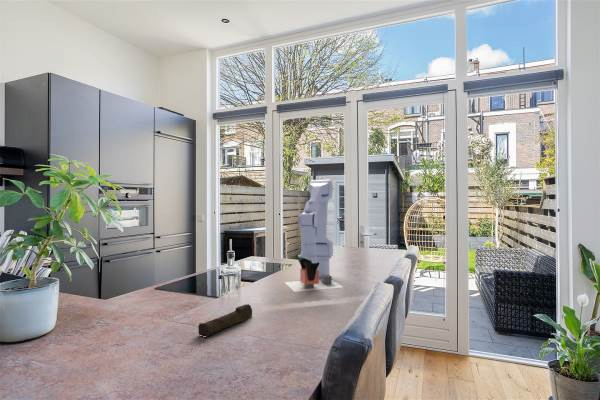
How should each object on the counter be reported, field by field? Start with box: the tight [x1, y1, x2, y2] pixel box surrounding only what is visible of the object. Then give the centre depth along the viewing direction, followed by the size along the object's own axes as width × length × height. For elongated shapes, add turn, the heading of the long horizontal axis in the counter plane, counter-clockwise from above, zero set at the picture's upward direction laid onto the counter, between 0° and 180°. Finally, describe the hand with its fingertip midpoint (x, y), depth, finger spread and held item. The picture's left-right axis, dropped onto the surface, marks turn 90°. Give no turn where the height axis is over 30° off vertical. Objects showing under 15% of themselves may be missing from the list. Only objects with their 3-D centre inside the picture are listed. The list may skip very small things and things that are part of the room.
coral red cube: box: [299, 268, 320, 285], centre depth 134 cm, size 6×6×5 cm
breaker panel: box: [284, 275, 344, 293], centre depth 138 cm, size 15×20×4 cm
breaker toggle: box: [304, 284, 314, 288], centre depth 133 cm, size 3×3×3 cm
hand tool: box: [197, 303, 253, 338], centre depth 98 cm, size 19×4×5 cm, turn 143°
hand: (308, 278), depth 134 cm, fingers closed on coral red cube, 5 cm apart
